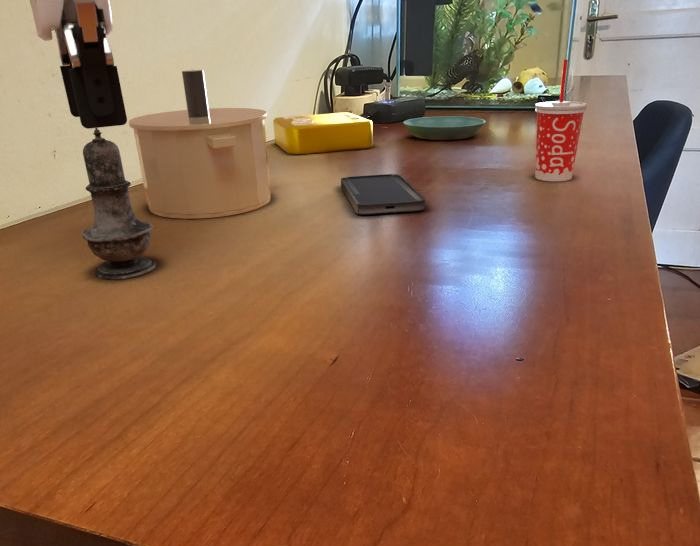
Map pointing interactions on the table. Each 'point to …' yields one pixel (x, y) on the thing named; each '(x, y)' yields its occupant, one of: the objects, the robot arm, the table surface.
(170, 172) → the pot
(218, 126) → the pot lid
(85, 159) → the salt shaker
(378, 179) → the phone
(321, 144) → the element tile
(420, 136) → the saucer
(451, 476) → the table surface
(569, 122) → the beverage cup
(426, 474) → the table surface
